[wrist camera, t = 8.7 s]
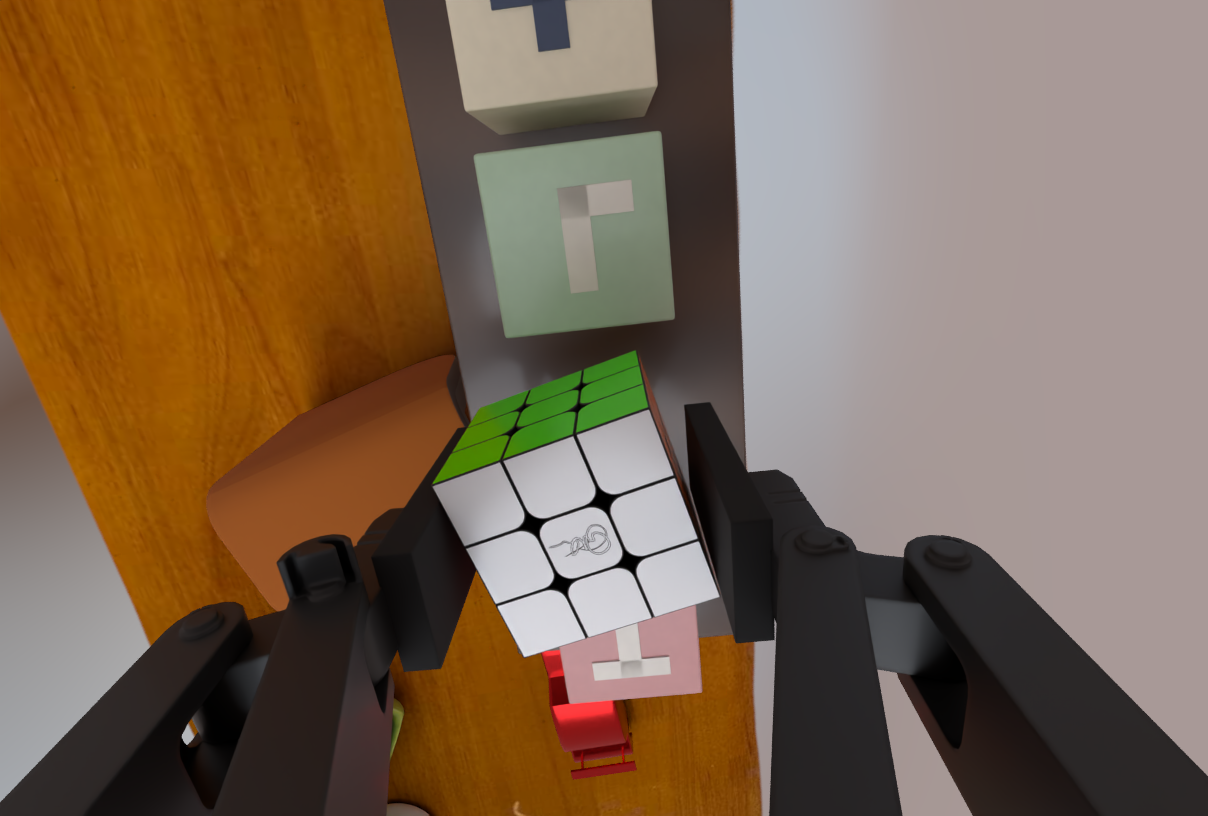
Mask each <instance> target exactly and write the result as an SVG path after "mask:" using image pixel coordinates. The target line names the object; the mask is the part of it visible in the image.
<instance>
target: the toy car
mask: <svg viewBox="0 0 1208 816" xmlns="http://www.w3.org/2000/svg"><path fill="white" fill-rule="evenodd" d="M541 655H542V658H543V661H544V664H545V668H546V671H547V674H548V678H549V704H550V710H551V714H552V718H553V721H554V724H555V728H556V731H557V734H558V737H559V740H560V744H561V746H562V748H563V750H564V752H568V751H571V753H572V756H573V759H574V762H581V767H582V769H577V770H571V775H572V778H573V780H574V779H581V778H587V777H594V776H601V775H608V774H614V773H621V772H628V771H634V770H637V768H636V764H635V761H630V762H625V756H624V755H629V754H633V740H632V732H631V733H629V724H628V718H627V714H626V709H625V705H624V701H623V699H622V700H610V701H599V702H587V703H576V704H570V703H569V700H568V694H567V688H566V682H565V677H564V671H563V665H562V660H561V654H560V650H556V651H545V652H542V653H541ZM615 756H622V759H623V763H617V764H610V765H603V766H597V767H590V768H584V761H589V760H596V759H602V758H609V757H615Z"/></svg>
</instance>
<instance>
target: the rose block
mask: <svg viewBox="0 0 1208 816" xmlns="http://www.w3.org/2000/svg"><path fill="white" fill-rule="evenodd" d="M559 648H560V654H561V660H562V665H563V671H564V677H565V682H566V688H567V694H568V700H569V703H570V704H576V703H587V702H599V701H610V700H622V699H634V698H645V697H657V696H668V695H680V694H692V693H701V692H702V679H701V666H700V652H699V639H698V625H697V611H696V605H694V606H691V607H687V608H684V609H681V610H678V611H675V612H671V613H668V614H665V615H662V616H658V617H653V618H652V619H649V620H645V621H642V622H639V623H636V624H633V625H629V626H626V627H623V628H620V629H616V630H613V631H610V632H607V633H603V634H600V635H597V636H594V637H591V638H588V637H587V639H584V640H581V641H578V642H574V643H571V644H568V645H565V646H561V647H559Z"/></svg>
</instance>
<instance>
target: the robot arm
mask: <svg viewBox="0 0 1208 816" xmlns="http://www.w3.org/2000/svg"><path fill="white" fill-rule="evenodd" d="M684 411H685V426H686V441H687V456H688V470H689V485H690V491H691V494H692V498H693V501H694V504H695V508H696V511H697V514H698V518H699V521H700V524H701V528H702V531H703V535H704V538H705V541H706V545H707V548H708V551H709V555H710V558H711V561H712V565H713V568H714V571H715V575H716V578H717V582H718V585H719V588H720V592H721V595H722V598H723V602H724V605H725V608H726V612H727V615H728V618H729V622H730V625H731V629H732V632H733V635H734V639H735V642H736V643H745V642H757V641H768V640H774V618H775V621H776V623H777V628H776V655H775V680H774V707H773V733H772V759H771V786H770V787H771V788H770V811H769V816H902V810H901V805H900V798H899V793H898V787H897V781H896V775H895V770H894V764H893V758H892V753H891V747H890V741H889V735H888V729H887V724H886V718H885V712H884V706H883V701H882V695H881V689H880V683H879V678H878V672H877V669H878V670H884V671H890V672H896V673H897V674H898V678H899V680H900V682H901V684H902V685H903V687H904V689H905V691H906V692H907V695H908V697H909V698H910V700H911V702H912V704H913V706H914V708H915V709H916V711H917V713H918V715H919V717H920V719H921V721H922V722H923V724H924V726H925V728H926V730H927V732H928V733H929V735H930V737H931V739H932V741H933V743H934V745H935V747H936V748H937V750H938V752H939V754H940V756H941V758H942V759H943V761H944V763H945V765H946V767H947V769H948V771H949V772H950V774H951V776H952V778H953V780H954V782H955V783H956V785H957V787H958V789H959V791H960V793H961V795H962V797H963V798H964V800H965V802H966V804H967V806H968V808H969V810H970V811H971V813H972V815H973V816H1208V776H1207V775H1206V774H1205V773H1204V772H1203V771H1202V770H1201V769H1200V768H1199V767H1198V766H1197V765H1196V764H1195V763H1194V762H1193V761H1192V760H1191V759H1190V758H1189V757H1188V756H1187V755H1186V754H1185V753H1184V752H1183V751H1182V750H1181V749H1180V748H1179V747H1178V746H1177V745H1176V744H1175V742H1174V741H1172V739H1171V738H1170V737H1169V736H1168V735H1167V734H1166V733H1165V732H1164V731H1163V730H1162V729H1161V728H1160V727H1159V726H1158V725H1157V724H1156V723H1155V722H1154V721H1153V720H1152V719H1151V718H1150V717H1149V716H1148V715H1147V714H1146V713H1145V712H1144V711H1143V710H1142V709H1141V708H1140V707H1139V706H1138V705H1137V704H1136V703H1135V702H1134V701H1133V700H1132V699H1131V698H1130V697H1129V696H1128V695H1127V694H1126V693H1125V692H1124V691H1123V690H1122V689H1121V688H1120V687H1119V686H1118V685H1117V684H1116V683H1115V682H1114V681H1113V680H1112V679H1111V678H1110V677H1109V676H1108V675H1107V674H1106V673H1105V672H1104V671H1103V670H1102V669H1101V668H1100V666H1099V665H1098V664H1097V663H1096V662H1095V661H1094V660H1092V658H1091V657H1090V656H1088V654H1087V653H1086V652H1085V651H1084V650H1083V649H1082V648H1081V647H1080V646H1079V645H1078V644H1077V643H1076V642H1075V641H1074V640H1073V639H1072V638H1071V637H1070V636H1069V635H1068V634H1067V633H1066V632H1065V631H1064V630H1063V629H1062V628H1061V627H1060V626H1059V625H1058V624H1057V623H1056V622H1055V621H1054V620H1053V619H1052V618H1051V617H1050V616H1049V615H1048V614H1047V613H1046V612H1045V611H1044V610H1043V609H1042V608H1041V607H1040V606H1039V605H1038V604H1037V603H1036V602H1035V601H1034V600H1033V599H1032V598H1031V597H1030V596H1029V595H1028V594H1027V593H1026V592H1025V591H1024V590H1023V589H1022V588H1021V586H1020V585H1018V583H1016V581H1015V580H1014V579H1013V578H1012V577H1011V576H1009V574H1008V573H1007V572H1006V571H1005V570H1004V569H1003V568H1002V567H1001V566H1000V565H999V564H998V563H997V562H996V561H995V560H994V559H993V558H992V557H991V556H990V555H989V554H987V553H986V552H985V551H983V550H982V549H981V548H979V547H978V546H976V545H974V544H971V543H969V542H967V541H964V540H962V539H959V538H955V537H950V536H944V535H941V536H936V535H928V536H922V537H917V538H915V539H913V540H911V541H910V542H908V543H907V545H906V548H905V550H904V557H894V556H884V555H875V554H869V553H864V552H861V551H857V550H856V546H855V545H854V543H853V541H852V539H851V538H849V537H848V536H846V535H845V534H844V533H842V532H840V531H837V530H835V529H832V528H829V527H826V526H825V525H824V523H823V522H822V521H821V519H820V518H819V516H818V515H817V513H816V512H815V510H814V509H813V508H812V506H811V505H810V503H809V502H808V501H807V500H806V497H805V496H804V494H803V493H802V492H800V489H799V487H798V486H797V484H796V483H795V481H794V480H793V478H791V477H789V476H787V475H786V474H784V473H782V472H781V471H779V470H768V471H758V472H747V470H746V468H745V466H744V464H743V462H742V460H741V459H740V457H739V455H738V453H737V451H736V449H735V447H734V446H733V444H732V442H731V440H730V438H729V436H728V434H727V432H726V431H725V429H724V427H723V425H722V423H721V421H720V419H719V418H718V416H717V414H716V412H715V410H714V408H713V406H712V404H711V403H710V402H705V403H695V404H685V405H684ZM466 429H467V427H462V428H457V430H456V431H455V433H454V434H453V436H452V437H451V439H450V440H449V442H448V443H447V445H446V446H445V448H444V449H443V451H442V452H441V454H440V455H439V457H438V458H437V460H436V461H435V463H434V464H433V466H432V467H431V469H430V470H429V472H428V473H427V474H426V476H425V477H424V479H423V480H422V482H421V483H420V485H419V486H418V488H417V489H416V491H415V492H414V494H413V495H412V497H411V498H410V500H409V501H408V503H407V504H406V506H405V507H404V508H394V509H389V510H388V511H386V512H385V513H383V514H382V515H381V516H379V517H378V518H376V519H375V520H374V521H373V522H372V523H371V525H370V526H369V527H368V529H367V530H366V531H365V533H364V535H362V537H361V538H360V539H359V541H358V542H357V545H356V546H354V547H353V544H352V541H351V538H349V537H347V536H346V535H340V534H331V535H324V536H319V537H316V538H313V539H310V540H306V541H304V542H302V543H300V544H298V545H296V546H294V547H292V548H291V549H290V550H288V551H287V552H286V553H284V554H283V555H282V556H281V557H280V558H279V560H278V561H277V562H276V563H277V566H278V569H279V572H280V575H281V578H282V580H283V583H284V586H285V589H286V592H287V594H288V597H289V602H288V605H287V608H286V609H285V610H282V611H279V612H275V613H272V614H268V615H265V616H261V617H258V618H254V619H251V620H248V618H247V616H246V613H245V610H244V608H243V606H242V605H240V604H238V603H236V602H222V603H218V604H213V605H207V606H204V607H202V609H200V608H199V609H197V610H195V611H192V612H191V613H190V614H189V615H187V616H185V617H183V618H182V619H180V620H178V621H177V622H176V623H175V624H173V625H172V626H171V627H170V628H169V629H167V630H166V631H165V632H164V633H163V634H162V635H161V636H160V637H159V638H158V639H157V640H156V641H155V643H154V644H153V645H152V646H151V647H150V648H149V649H148V650H147V651H146V652H145V653H144V654H143V655H142V656H141V657H140V658H139V659H138V660H137V661H136V662H135V663H134V664H133V665H132V667H131V668H129V669H128V671H127V672H126V673H125V674H124V675H123V676H122V677H121V678H120V679H119V680H118V681H117V682H116V683H115V684H114V685H113V686H112V687H111V688H110V689H109V690H108V691H107V692H106V693H105V694H104V695H103V696H102V697H101V699H100V700H99V701H98V702H97V703H96V704H95V705H94V706H93V707H92V708H91V709H90V710H89V711H88V712H87V713H86V714H85V715H84V716H83V717H82V718H81V719H80V720H79V721H78V722H77V724H75V725H74V727H73V728H72V729H71V730H70V731H69V732H68V733H67V734H66V735H65V736H64V737H63V738H62V739H61V740H60V741H59V742H58V743H57V744H56V745H55V746H54V747H53V748H52V749H51V750H50V751H49V752H48V754H47V755H46V756H45V757H44V758H43V759H42V760H41V761H40V762H39V763H38V764H37V765H36V766H35V767H34V768H33V769H32V770H31V771H30V772H29V773H28V774H27V775H26V776H25V777H24V779H22V780H21V782H19V784H18V785H17V786H16V787H15V788H14V789H13V790H12V791H11V792H10V793H9V794H8V795H7V796H6V797H5V798H4V799H3V800H2V801H1V802H0V816H386V815H387V799H388V783H389V767H390V750H391V734H392V718H393V702H394V682H393V678H392V674H391V671H390V668H389V667H390V665H391V662H392V660H393V658H394V656H395V654H396V652H397V650H398V652H399V656H400V659H401V663H402V666H403V670H404V672H408V671H419V670H431V669H441V667H442V664H443V662H444V659H445V656H446V653H447V650H448V648H449V645H450V642H451V639H452V636H453V634H454V631H455V628H456V625H457V622H458V620H459V617H460V614H461V611H462V608H463V606H464V603H465V600H466V597H467V594H468V592H469V589H470V586H471V583H472V580H473V578H474V575H475V572H476V568H475V567H474V565H473V563H472V561H471V559H470V557H469V556H468V554H467V552H466V550H465V547H464V546H463V544H462V543H461V541H460V539H459V537H458V535H457V533H456V531H455V530H454V528H453V526H452V524H451V522H450V520H449V518H448V517H447V515H446V513H445V511H444V509H443V507H442V505H441V504H440V502H439V500H438V498H437V496H436V494H435V493H434V491H433V489H432V487H431V485H432V483H433V481H434V480H435V478H436V477H437V475H438V473H439V472H440V470H441V469H442V467H443V466H444V464H445V462H446V461H447V459H448V458H449V456H450V454H451V453H452V451H453V450H454V448H455V446H456V445H457V443H458V442H459V440H460V438H461V437H462V435H463V434H464V432H465V430H466ZM191 719H192V720H193V722H194V724H195V726H196V728H197V730H198V733H197V734H196V736H195V737H194V738H193V740H192V741H191V742H190V743H189V744H188V745H186V744H185V743H184V741H183V739H182V734H183V732H184V730H185V728H186V726H187V724H188V723H189V721H190V720H191Z"/></svg>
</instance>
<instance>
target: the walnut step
mask: <svg viewBox="0 0 1208 816" xmlns="http://www.w3.org/2000/svg"><path fill="white" fill-rule="evenodd" d="M383 1H384V5H385V10H386V15H387V20H388V25H389V30H390V34H391V39H392V44H393V49H394V54H395V59H396V63H397V68H398V73H399V78H400V83H401V88H402V92H403V97H404V102H405V107H406V112H407V117H408V121H409V126H410V131H411V136H412V141H413V146H414V151H415V155H416V160H417V165H418V170H419V175H420V180H421V184H422V189H423V194H424V199H425V204H426V209H427V213H428V218H429V223H430V228H431V233H432V238H433V242H434V247H435V252H436V257H437V262H438V267H439V271H440V276H441V281H442V286H443V291H444V296H445V300H446V305H447V310H448V315H449V320H450V325H451V329H452V334H453V339H454V344H455V349H456V354H457V358H458V363H459V368H460V373H461V378H462V383H463V388H464V392H465V397H466V402H467V407H468V412H469V417H470V421H472V419H473V418H474V416H475V415H476V413H477V411H478V410H479V408H481V407H484V406H487V405H489V404H492V403H495V402H497V401H500V400H503V399H506V398H508V397H511V396H514V395H516V394H519V393H522V392H524V391H527V390H531V389H532V388H535V387H538V386H541V385H543V384H546V383H549V382H551V381H554V380H557V379H559V378H562V377H565V376H568V375H570V374H573V373H576V372H578V371H581V370H584V369H586V368H589V367H592V366H594V365H597V364H600V363H603V362H605V361H608V360H611V359H613V358H616V357H619V356H621V355H624V354H627V353H630V352H632V351H635V350H637V351H638V354H639V357H640V359H641V362H642V365H643V367H644V370H645V373H646V375H647V378H648V381H649V383H650V386H651V389H652V391H653V394H654V397H655V400H656V402H657V405H658V408H659V410H660V413H661V416H662V418H663V421H664V424H665V426H666V429H667V432H668V435H669V437H670V440H671V443H672V445H673V448H674V451H675V453H676V456H677V459H678V461H679V464H680V467H681V469H682V472H683V475H684V478H685V480H686V483H687V486H688V488H689V491H690V485H689V470H688V456H687V441H686V426H685V411H684V405H685V404H695V403H705V402H710V403H711V404H712V406H713V408H714V410H715V412H716V414H717V416H718V418H719V419H720V421H721V423H722V425H723V427H724V429H725V431H726V432H727V434H728V436H729V438H730V440H731V442H732V444H733V446H734V447H735V449H736V451H737V453H738V455H739V457H740V459H741V460H742V462H743V464H744V466H745V468H746V447H745V418H744V390H743V360H742V330H741V301H740V272H739V243H738V214H737V185H736V155H735V126H734V97H733V68H732V39H731V9H730V0H652V13H653V27H654V41H655V54H656V68H657V82H658V85H657V88H656V90H655V92H654V95H653V97H652V100H651V102H650V104H649V107H648V109H647V111H646V114H645V116H644V117H637V118H629V119H622V120H614V121H606V122H598V123H590V124H582V125H575V126H567V127H559V128H551V129H543V130H536V131H528V132H520V133H512V134H504V135H499V134H498V133H496V132H495V131H493V130H492V129H490V128H489V127H488V126H486V125H485V124H483V123H482V122H480V121H479V120H478V119H476V118H475V117H473V116H472V115H470V114H469V113H467V112H466V111H465V109H464V103H463V97H462V92H461V86H460V80H459V75H458V69H457V63H456V58H455V52H454V46H453V41H452V35H451V29H450V24H449V18H448V12H447V6H446V1H445V0H383ZM652 131H660V132H661V134H662V147H663V161H664V175H665V188H666V202H667V216H668V229H669V243H670V257H671V270H672V284H673V298H674V311H675V317H674V319H673V320H666V321H658V322H649V323H640V324H631V325H622V326H613V327H605V328H596V329H587V330H578V331H569V332H560V333H552V334H543V335H534V336H525V337H516V338H506V337H505V334H504V328H503V323H502V317H501V311H500V305H499V300H498V294H497V288H496V283H495V277H494V271H493V266H492V260H491V254H490V249H489V243H488V237H487V231H486V226H485V220H484V214H483V209H482V203H481V197H480V192H479V186H478V180H477V175H476V169H475V163H474V155H475V154H479V153H487V152H494V151H502V150H510V149H518V148H526V147H534V146H542V145H550V144H558V143H565V142H573V141H581V140H589V139H597V138H605V137H613V136H621V135H628V134H636V133H644V132H652ZM690 494H691V491H690ZM691 497H692V494H691ZM692 500H693V498H692ZM693 504H694V501H693ZM694 507H695V504H694ZM695 510H696V508H695ZM696 514H697V511H696ZM697 517H698V514H697ZM698 520H699V518H698ZM699 523H700V521H699ZM700 527H701V524H700ZM701 530H702V528H701ZM702 533H703V531H702ZM703 537H704V535H703ZM704 540H705V538H704ZM705 543H706V541H705ZM706 547H707V545H706ZM707 550H708V548H707ZM708 553H709V551H708ZM709 557H710V555H709ZM710 560H711V558H710ZM711 563H712V561H711ZM712 567H713V565H712ZM713 570H714V568H713ZM714 573H715V571H714ZM715 577H716V575H715ZM716 580H717V578H716ZM717 583H718V582H717ZM718 587H719V585H718ZM719 590H720V588H719ZM720 593H721V592H720ZM696 611H697V625H698V638H700V637H711V636H722V635H733V632H732V629H731V625H730V622H729V618H728V615H727V612H726V608H725V605H724V602H723V598H722V595H721V597H720V598H717V599H713V600H710V601H707V602H704V603H700V604H697V605H696ZM517 649H518V653H519V654H521V652H520V650H519V648H518V646H517ZM556 650H560V648H559V647H558V648H555V649H552V650H549V651H556Z"/></svg>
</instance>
